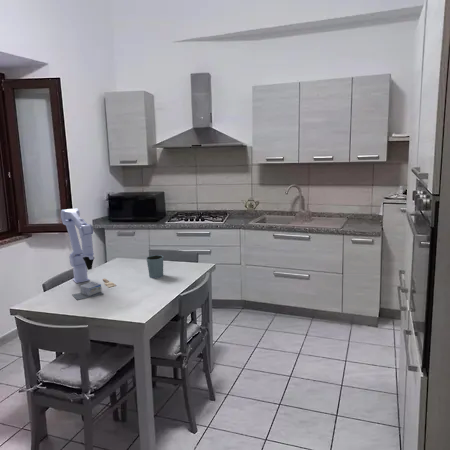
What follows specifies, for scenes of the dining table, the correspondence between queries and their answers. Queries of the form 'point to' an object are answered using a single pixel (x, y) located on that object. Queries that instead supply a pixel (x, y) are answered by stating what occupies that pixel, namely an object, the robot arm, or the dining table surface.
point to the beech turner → (108, 283)
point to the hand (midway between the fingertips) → (89, 269)
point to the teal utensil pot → (155, 266)
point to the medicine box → (90, 288)
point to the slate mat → (83, 296)
